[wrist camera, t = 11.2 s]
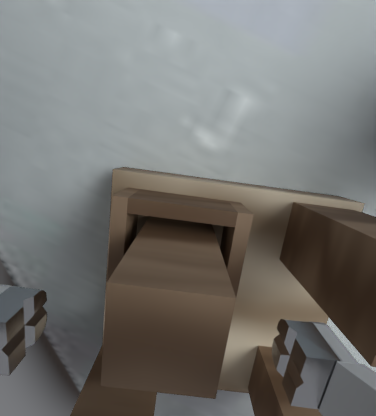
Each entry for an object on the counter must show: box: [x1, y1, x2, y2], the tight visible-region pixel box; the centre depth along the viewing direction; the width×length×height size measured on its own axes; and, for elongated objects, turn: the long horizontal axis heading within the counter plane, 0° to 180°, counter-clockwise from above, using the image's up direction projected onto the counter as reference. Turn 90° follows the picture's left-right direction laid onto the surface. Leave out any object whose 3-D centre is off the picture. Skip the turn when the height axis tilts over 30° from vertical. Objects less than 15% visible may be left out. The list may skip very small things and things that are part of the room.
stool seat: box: [70, 167, 376, 416], centre depth 13 cm, size 16×16×10 cm
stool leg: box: [101, 216, 236, 399], centre depth 11 cm, size 4×4×8 cm
